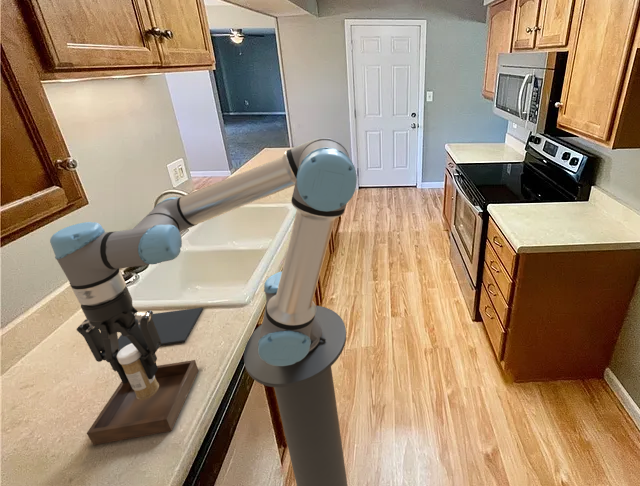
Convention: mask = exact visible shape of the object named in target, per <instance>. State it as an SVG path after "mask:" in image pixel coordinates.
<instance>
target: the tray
mask: <svg viewBox="0 0 640 486" xmlns="http://www.w3.org/2000/svg"><path fill="white" fill-rule="evenodd" d="M157 367H158V370H157V372H156V373H155V378H156V380H157V382H158V383H159V389H158V390H157V392H156V393H155V394H154V395H153V396H151V397H150V398H148V399H145V400H138V399H137V398H136V393H135V392H134V390H133V388H132V386H131V384H130V382H129V381H128V382H127V383H125V384H123V382H122V381H120V383H119V385H118V386H117V387H116V389H115V391H114V392H113V394H112V395H111V396H110V398H109V399H108V401H106V404H105V405H104V407H103V408H102V410H101V411H100V413H99V414H98V416H97V417H96V419H95V420H94V421H93V423H92V424H91V426H90V428H89V429H88V430H87V432H86V435H87V437H88V438H89V440H90V442H91V443H92V446H95V445H96V446H97V445H100V444H107V443H111V442H112V443H113V442H119V441H124V440H129V439H134V438H139V437H145V436H150V435H156V434H161V433H167V432H172V431H173V429H174V426H175V424H176V422H177V419H178V418H179V415H180V413H181V411H182V408H183V406H184V404H185V402H186V400H187V398H188V395H189V394H190V391H191V388H192V387H193V384H194V383H195V379H196V377H197V376H198V373H199V367H198V364H197V362H196V359H193V360H185V361H179V362H173V363H172V362H171V363H167V364H159V365H157Z"/></svg>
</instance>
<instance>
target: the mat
mask: <svg viewBox="0 0 640 486" xmlns="http://www.w3.org/2000/svg"><path fill="white" fill-rule="evenodd" d="M203 310H204V308H203V307H196V308H195V307H193V308H187V309H179V310H172V311H171V310H170V311H165V312H157V313H153V317H152V319H153V322H154V325H155V327H156V330H157V332H158V335H159V337H160V340H161V345H160V346H159V347H161V346H168V345H175V344H181V343H186V341H187V339H188V337H189V336H190V334H191V332H192V331H193V329H194V327H195V325H196V323H197V321H198V319H199V317H200V315H201V314H202V312H203ZM135 320H136V321H137V322H138V320H137V319H135ZM138 327H139V328H140V325H139V324H138ZM140 329H141V328H140ZM129 344H132V343H131V341H130V340H129V339H128V338H127V337H126V336H125V337H124V336H123V335H122V334H121V335H120V336H118V345H119V349H122V348H123V347H125V346H127V345H129Z"/></svg>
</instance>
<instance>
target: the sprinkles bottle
mask: <svg viewBox="0 0 640 486" xmlns="http://www.w3.org/2000/svg"><path fill="white" fill-rule="evenodd" d="M140 357H141V353H140V352H139V351H138V350H137V349H136V347H135V346H134V345H133V344H129V345H127V346H125V347H123V348H122V349H121V350H120V351H119V352H118V354H117V359H118V361H119V363H120V364H121V365H122V367H123V369H124V371H125V374H126V376H127V378H128V380H129V382H130V384H131V386H132V388H133V390H134V392H135V393H136V398H137V399H138V400H145V399H148V398H150V397H151V396H153V395H154V394H155V393H156V392H157V390H158V389H159V383H158V382H157V380H156V378H155V375H154V377H153V378H152V379H148V377H147V375H146V372H145V370H144V368H143V366H142V363H141V361H140V359H139V358H140Z"/></svg>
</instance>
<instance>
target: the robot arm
mask: <svg viewBox="0 0 640 486" xmlns="http://www.w3.org/2000/svg"><path fill="white" fill-rule="evenodd" d="M357 181H358V175H357V170H356V167H355V165H354V162H353V161H352V159H351V157H350V155H349V153H348V149H346V147H345V146H344V145H343V144H342V143H341V142H339V141H338V140H336V139H333V138H331V137H317V138H314V139H311V140H309V141H306V142H303V143H302V144H299V145H297V146H295V147H292V148H290V149H287V150H285V151H284V153H283V155H282V156H281V157H279V158H276V159H273V160H271V161H268V162H266V163H264V164H261V165H258V166H256V167H252V168H251V169H248V170H246V171H243V172H241V173H238V174H235V175H233V176H230V177H227V178H225V179H222V180H220V181H218V182H215V183H213V184H210V185H207V186H204V187H202V188H200V189H197V190H195V191H192V192H190V193H187V194H184V195H182V196H180V197H177V196H171V197H168V198H165V199H163V200H162V201H161V202H159V203H157V204H156V205H155V206H154V208H152V210H151V211H150V212H149V213H148V214H146V216H145V217H144V218H143V219H141V220H140V221H139V222H138V223H137V224H136V225H135V226H134V227H133V228H129V229H123V230H115V231H105V229H104V228H103V226H102V225H101V224H100V223H99V222H96V221H94V222H93V221H85V222H80V223H75V224H72V225H69V226H66V227H64V228H61V229H59V230H57V232H55V233H53V235H52V236H51V237H50V239H49V243H50V246H51V249H52V251H53V253H54V258H55V260H56V261H57V262H58V264H59V266H60V268H61V270H62V271H63V274H64V275H65V276H66V278H67V280H68V282H69V283H68V284H69V285H70V288H71V289H72V292H73V293H74V296H75V298H76V299H77V302H78V303H79V304H80V308H81V310H82V312H83V314H84V316H85V319H84V321H82V322H81V323H80V324H79V325H78V327H76V332H78V333H79V334H80V335H81V336H82V337H83V338H84V340H85V342H86V345H87V346H88V348H89V350H90V352H91V354H92V355H93V357H94V359H95V361H96V362H98V363H101V362H102V361H106V362H107V363H109V364H110V367H111V369H112V371H113V372H117V374H118V376H119V378H120V380H121V382H123V384H125V383H127V382H128V381H129V380H128V378H127V376H126V374H125V371H124V369H123V367H122V365H121V364H120V363H119V361H118V359H117V354H118V352H119V351H120V350H121V349H119V345H118V339H119V336H118V333H120V334H121V335H123V336H124V337H125V336H126V337H127V338H128V339H129V340H130V341H131V343H132V344H133V345H134V346H135V347H136V349H137V350H138V351H139V352H140V353H141V357H140V358H139V359H140V361H141V363H142V366H143V368H144V370H145V372H146V375H147V377H148V379H152V378H153V377H154V375H155V373H156V372H157V370H158V367H157V366H158V365H157V360H158V357H157V354H156V353H157V351H158V349H160V347H161V346H162V345H161V340H160V337H159V335H158V332H157V330H156V327H155V325H154V322H153V319H152V317H153V314H154V312H153V311H152V310H150V309H149V310H147V311H146V312H140V311H138V309H136V308H135V307H134V306H133V298H132V296H131V293H130V290H129V288H128V287H127V283H126V281H125V278H124V277H123V274H122V271H121V269H127V268H135V267H142V266H148V265H149V266H150V265H158V264H161V263H164V262H169V261H174V260H175V259H177V258H178V257H179V255H180V253H181V249H182V245H183V242H182V240H183V239H182V235H181V232H183V231H185V230H188V229H190V228H192V227H195V226H197V225H199V224H202V223H204V222H208V221H209V220H212V219H214V218H217V217H220V216H222V215H225V214H227V213H229V212H233V211H234V210H238V209H240V208H242V207H245V206H247V205H249V204H252V203H254V202H257V201H260V200H261V199H265V198H268V197H270V196H272V195H274V194H277V193H279V192H282V191H285V190H288V189H289V188H292V187H293V192H292V195H291V200H290V201H291V205H292V206H293V207H294V209H295V210H296V211H295V214H294V219H293V223H292V228H291V231H290V236H289V239H288V240H289V241H288V245H287V248H286V252H285V257H284V261H283V266H282V269H281V270H280V271H278V272H276V273H274V274H272V275H270V276H268V278H266V280H265V281H264V285H263V292H264V294H265V307H264V312H263V317H262V323H261V324H262V328H261V334H260V339H259V341H258V353H259V356H260V358H261V359H262V360H264V361H265V362H266V363H268V364H270V365H274V366H288V365H292V364H295V363H296V362H299V361H301V360H302V359H303V358H304V357H305V356H307V355H309V354H310V353H311V352H313V351H314V350H315V349H316V348H317V347H318V345H319V344H320V342H321V341H324V342H325V340H326V339H324V338H322V328H321V325H320V323H319V322H318V320H317V319H316V317H315V314H316V306H317V305H316V303H315V301H314V297H315V293H316V290H317V286H318V282H319V279H320V275H321V273H322V268H323V264H324V261H325V257H326V254H327V250H328V246H329V243H330V239H331V236H332V231H333V228H334V224H335V222H336V219H338V218H339V217H342V216H344V214H345V210H346V207H347V205H348V203H349V202H350V200H352V198H353V196H354V194H355V193H356V188H357ZM135 319H137V320H138V322H137V321H136V320H135ZM138 324H139V325H140V328H141V329H140V328H139V327H138ZM160 345H161V346H160Z"/></svg>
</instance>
